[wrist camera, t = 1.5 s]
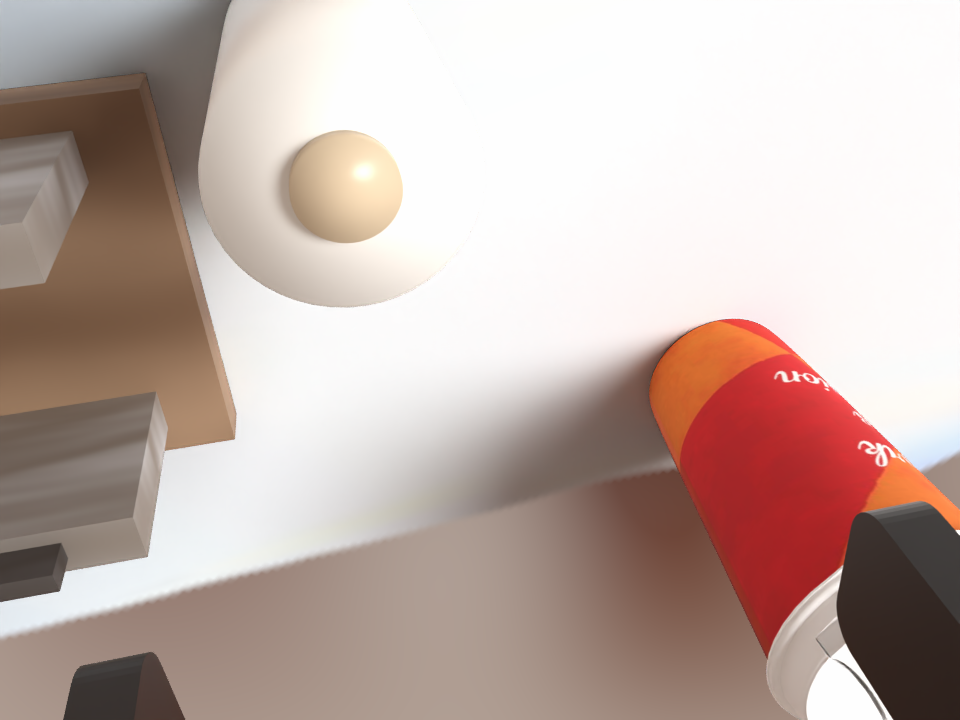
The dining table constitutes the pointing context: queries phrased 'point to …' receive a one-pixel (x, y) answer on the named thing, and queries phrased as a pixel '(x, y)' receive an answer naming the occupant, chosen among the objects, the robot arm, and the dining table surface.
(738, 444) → the paper cup
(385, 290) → the roll
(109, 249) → the holder
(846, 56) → the dining table surface
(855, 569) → the robot arm
